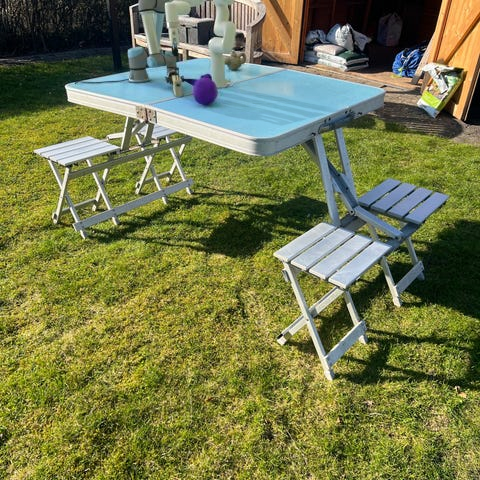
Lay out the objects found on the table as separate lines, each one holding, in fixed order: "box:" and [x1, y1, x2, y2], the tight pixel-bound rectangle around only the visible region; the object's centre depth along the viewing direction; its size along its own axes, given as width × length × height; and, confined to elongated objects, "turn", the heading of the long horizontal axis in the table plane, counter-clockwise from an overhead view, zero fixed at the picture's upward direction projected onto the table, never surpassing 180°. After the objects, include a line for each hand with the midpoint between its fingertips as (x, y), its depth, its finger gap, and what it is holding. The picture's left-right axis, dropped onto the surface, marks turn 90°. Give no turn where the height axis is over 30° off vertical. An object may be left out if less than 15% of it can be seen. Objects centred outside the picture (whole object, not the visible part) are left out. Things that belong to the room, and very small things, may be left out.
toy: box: [182, 73, 219, 106], centre depth 272 cm, size 16×18×27 cm
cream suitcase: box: [172, 78, 184, 98], centre depth 298 cm, size 17×5×9 cm, turn 12°
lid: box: [172, 66, 183, 83], centre depth 293 cm, size 18×5×8 cm, turn 12°
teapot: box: [224, 50, 247, 71], centre depth 368 cm, size 21×12×15 cm, turn 120°
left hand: (176, 82), depth 300 cm, fingers closed on cream suitcase, 5 cm apart
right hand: (175, 55), depth 281 cm, fingers open, 9 cm apart
